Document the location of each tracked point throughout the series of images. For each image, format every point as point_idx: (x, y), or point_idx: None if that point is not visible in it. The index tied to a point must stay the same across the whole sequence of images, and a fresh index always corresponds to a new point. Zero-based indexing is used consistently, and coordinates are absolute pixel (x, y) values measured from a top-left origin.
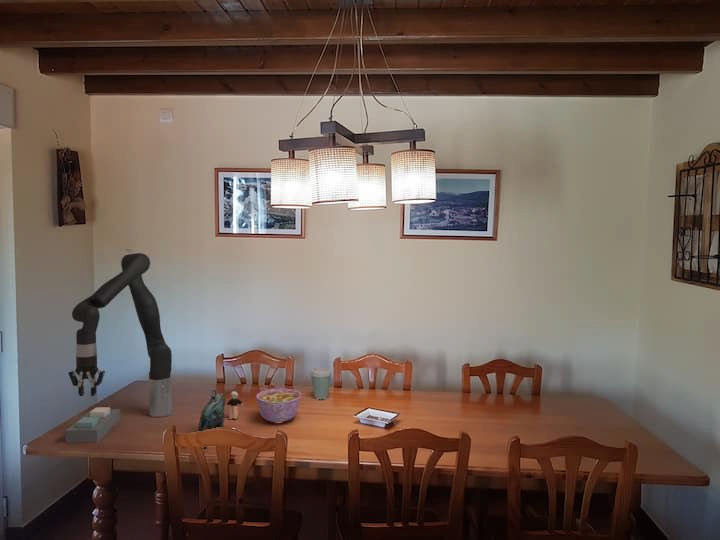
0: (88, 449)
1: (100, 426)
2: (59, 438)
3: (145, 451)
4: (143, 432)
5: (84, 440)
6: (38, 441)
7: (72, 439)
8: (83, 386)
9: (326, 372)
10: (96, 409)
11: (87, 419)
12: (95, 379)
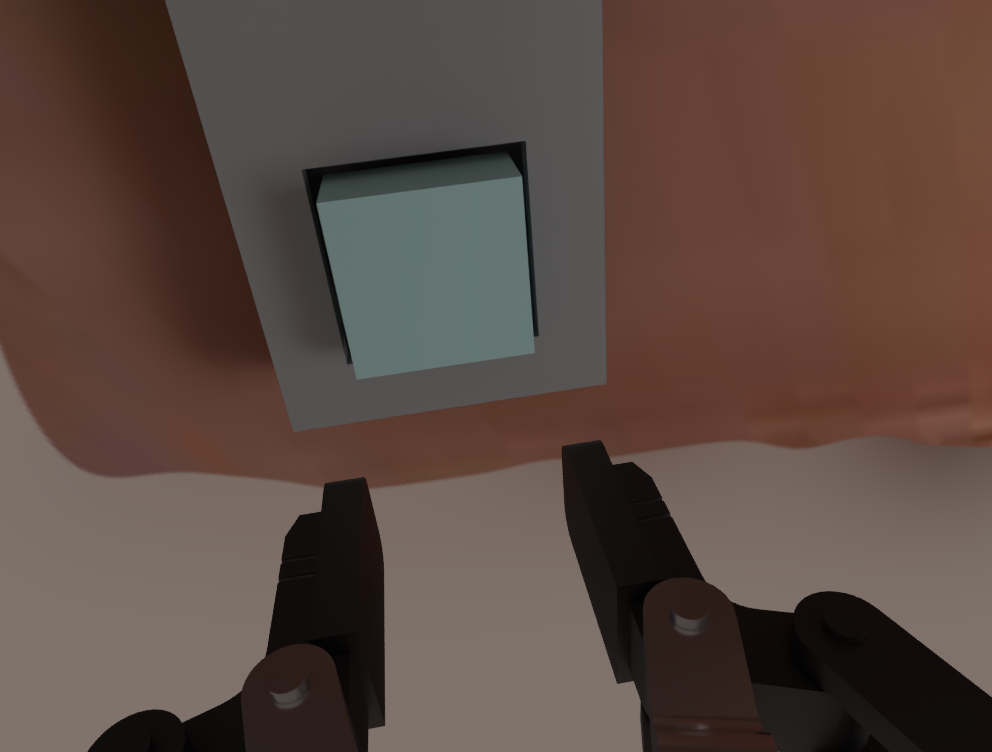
0: None
1: (601, 294)
2: (165, 286)
3: (979, 416)
4: (940, 43)
5: None
6: (22, 371)
7: None
8: (360, 636)
9: None
10: None
11: (421, 270)
12: (765, 743)
